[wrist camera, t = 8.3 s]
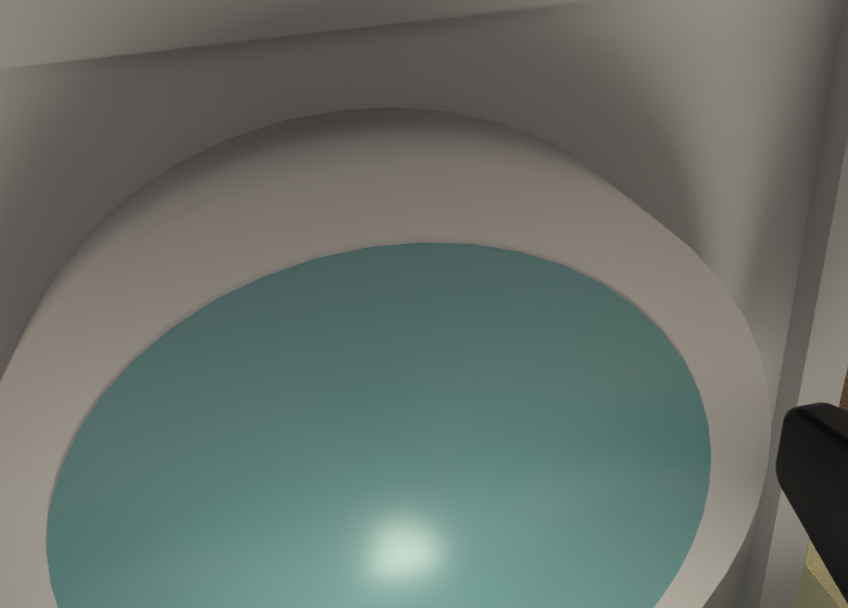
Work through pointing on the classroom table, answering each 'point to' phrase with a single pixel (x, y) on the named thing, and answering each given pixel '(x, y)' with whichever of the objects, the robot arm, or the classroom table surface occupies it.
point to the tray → (490, 100)
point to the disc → (380, 386)
